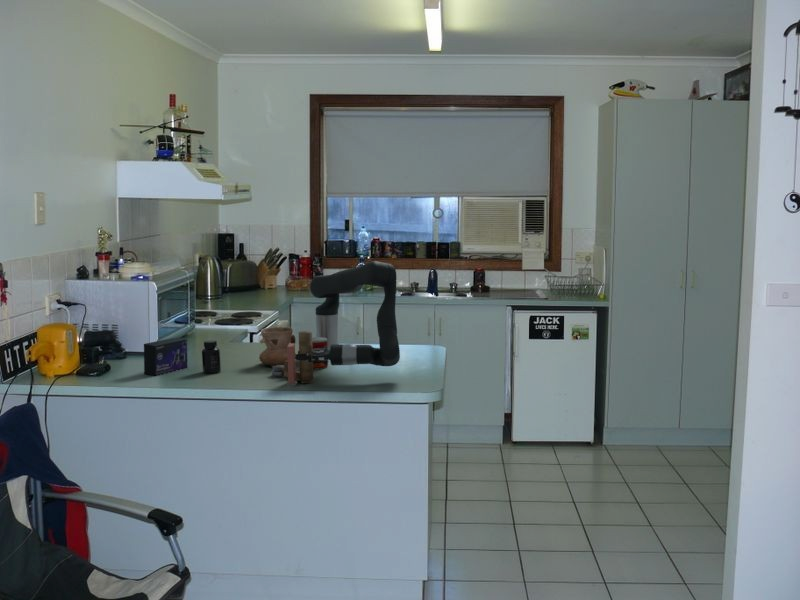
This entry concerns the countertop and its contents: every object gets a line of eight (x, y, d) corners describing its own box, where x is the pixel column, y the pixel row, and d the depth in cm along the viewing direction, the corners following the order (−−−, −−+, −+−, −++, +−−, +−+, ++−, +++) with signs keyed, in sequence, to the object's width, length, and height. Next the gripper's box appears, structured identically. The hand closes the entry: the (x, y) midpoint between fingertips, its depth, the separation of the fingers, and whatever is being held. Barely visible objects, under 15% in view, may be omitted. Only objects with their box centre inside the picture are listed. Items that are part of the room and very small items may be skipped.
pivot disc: (272, 374, 335) (272, 368, 335) (288, 373, 335) (288, 368, 335) (270, 377, 330) (270, 372, 329) (286, 377, 330) (286, 372, 329)
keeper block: (289, 381, 323) (287, 343, 321) (297, 381, 323) (296, 343, 321) (286, 385, 316) (285, 346, 314) (295, 385, 316) (294, 346, 314)
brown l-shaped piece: (281, 372, 336) (279, 325, 334) (316, 381, 321) (315, 331, 319) (270, 375, 332) (268, 327, 330) (305, 383, 318) (303, 333, 315)
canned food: (310, 369, 343) (309, 341, 341) (306, 365, 350) (306, 337, 349) (329, 368, 345) (329, 340, 343) (326, 364, 352) (325, 336, 351)
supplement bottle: (222, 370, 344) (221, 339, 342) (219, 374, 337) (218, 342, 335) (204, 370, 344) (203, 339, 342) (201, 374, 337) (199, 343, 335)
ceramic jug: (273, 370, 342) (272, 334, 340) (249, 365, 351) (248, 330, 349) (308, 362, 355) (307, 327, 353) (284, 358, 365) (283, 324, 363)
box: (156, 376, 334) (154, 345, 333) (143, 374, 338) (142, 343, 336) (188, 368, 349) (187, 338, 347) (176, 366, 352) (175, 336, 351)
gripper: (345, 340, 326) (298, 341, 326) (342, 348, 312) (294, 348, 312) (345, 360, 327) (299, 361, 327) (342, 369, 313) (294, 370, 313)
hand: (297, 355), depth 319 cm, fingers open, 5 cm apart
